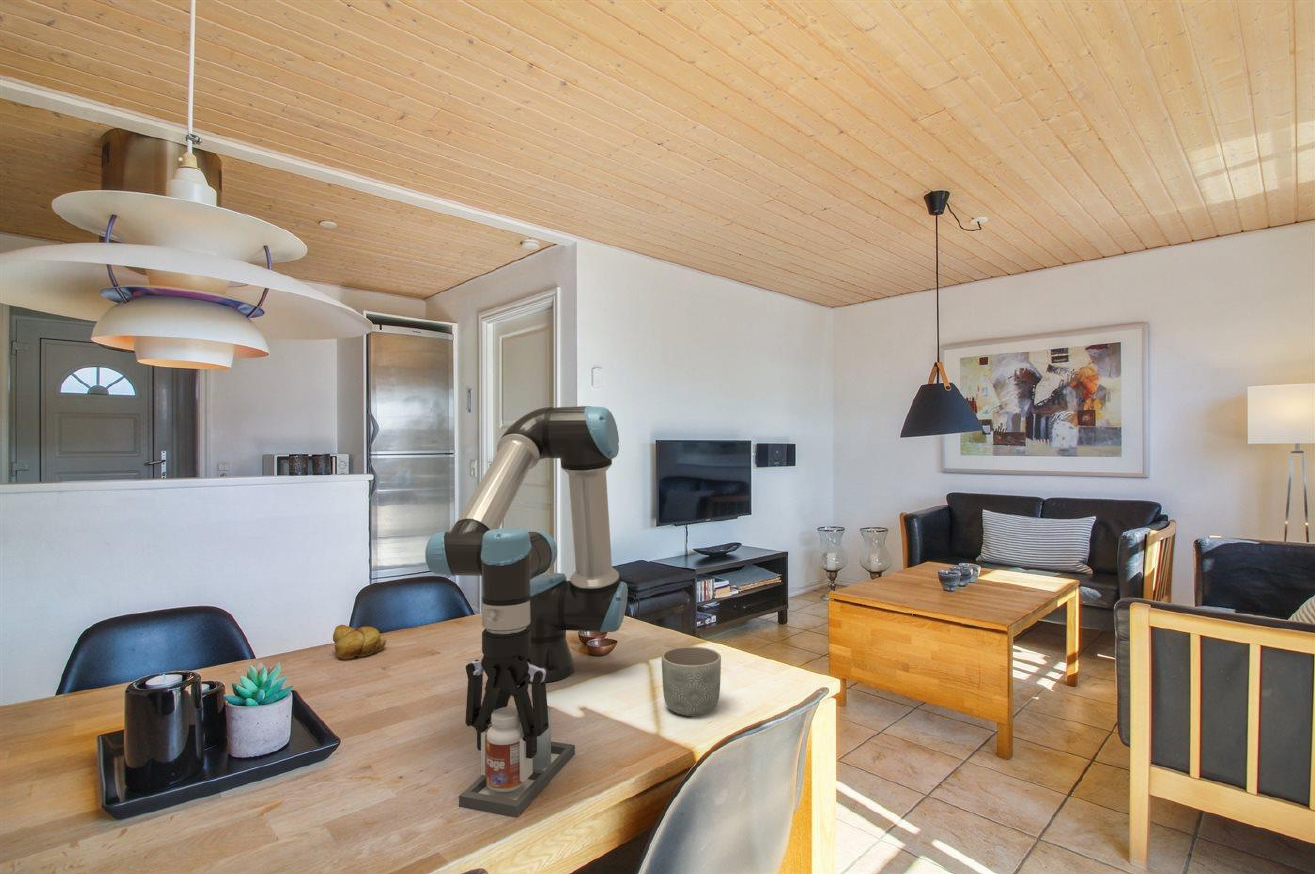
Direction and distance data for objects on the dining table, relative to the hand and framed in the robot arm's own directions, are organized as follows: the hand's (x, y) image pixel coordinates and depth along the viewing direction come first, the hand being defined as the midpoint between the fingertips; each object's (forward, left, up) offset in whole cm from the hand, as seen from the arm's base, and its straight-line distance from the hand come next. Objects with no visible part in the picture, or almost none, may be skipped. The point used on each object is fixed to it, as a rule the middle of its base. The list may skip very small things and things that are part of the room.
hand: (506, 773), depth 100 cm
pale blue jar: (0, +9, -3) cm, 9 cm away
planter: (+20, +40, -3) cm, 44 cm away
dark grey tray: (0, +5, -3) cm, 5 cm away
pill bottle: (0, 0, -2) cm, 2 cm away
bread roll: (-73, +48, -3) cm, 87 cm away
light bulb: (-15, +23, -3) cm, 27 cm away
